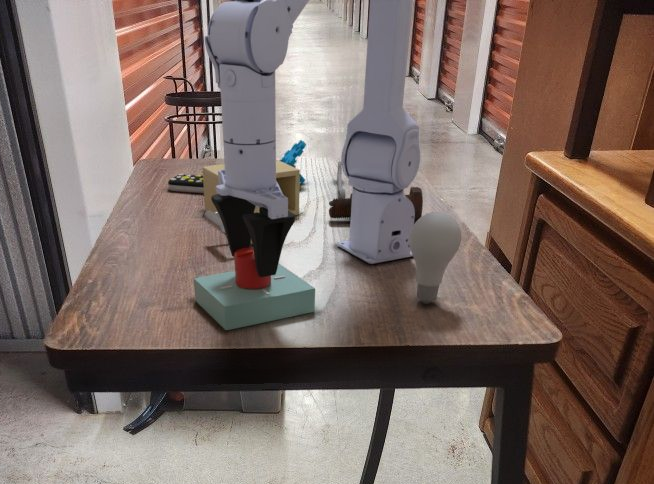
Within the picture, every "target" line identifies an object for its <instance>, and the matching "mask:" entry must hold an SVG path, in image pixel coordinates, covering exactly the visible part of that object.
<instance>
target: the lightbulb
mask: <svg viewBox="0 0 654 484" xmlns="http://www.w3.org/2000/svg"><path fill="white" fill-rule="evenodd" d="M461 242H462V230H461V226H460V224H459V222H458V221H457V219H456V218H454V217H453V216H452V215H451V214H450V213H447V212H445V211H439V210H437V211H435V210H434V211H430V212H427V213H425V214H423V215H422V216H421V218H419V219H418V220H417V221H416V223H415V224H414V225H413V227H412V230H411V233H410V236H409V245H410V249H411V252H412V255H413V256H412V258H413V260H414V263H415V267H416V269H415V270H416V277H415V278H416V282H417V287H416V288H417V289H416V298H417V299H418V300H419V301H421V302H422V303H423V304H430V303H431V302H434V301H436V300H437V298H438V293H439V288H440V285H441V284H442V282H443V278H444V274H445V271H446V269H447V267H448V266H449V263H450V262H451V261H452V260H453V259H454V257H455V256H456V254H457V253H458V251H459V249H460V246H461V244H462V243H461Z"/></svg>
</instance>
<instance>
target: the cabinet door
mask: <svg viewBox="0 0 654 484" xmlns="http://www.w3.org/2000/svg"><path fill="white" fill-rule="evenodd" d="M257 212H258V213H259V207H257V206H256V207H255V211H254V213H257ZM204 218H205V219H206V220H207V221H208V222H210V223H211V224H212V225H213V226H214V227H215V228H217V229H218V230H219V231H220V232H222V233H225V229H224V226H223V223H222V220H221V218H220V215H219V213H218V212H212V211H211V210H207V211H205V212H204ZM225 234H226V233H225ZM250 245H252V240H251V244H250Z"/></svg>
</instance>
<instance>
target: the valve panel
mask: <svg viewBox="0 0 654 484" xmlns="http://www.w3.org/2000/svg"><path fill="white" fill-rule="evenodd" d="M193 288H194V290H193V291H194V300H195V302H196V303H197V304H198V305H199V306H200V307H201V308H202V309H203V310H204V311H205V312H206V313H207V314H208V315H209V316H211V318H212V319H213V320H214V321H215V322H217V324H218V325H220V326H221V327H222V328H223V330H225V331H231V330H236V329H240V328H244V327H248V326H254V325H258V324H263V323H269V322H272V321H277V320H278V321H279V320H282V319H287V318H291V317H296V316H302V315H306V314H311V313H315V309H316V287H314V286H312V285H311V284H310V283H308V282H307V281H306V280H304V279H302V278H301V277H299V276H298V275H296V274H295V273H294V272H292V271H291V270H289V269H288V268H287V267H285V266H283V265H282V264H280V262H279V263H278V268H277V272H276V275H271V284H270V285H269V286H267V287H264V288H260V289H245V288H241V287H239V286H237V285H236V282H235V270H231V271H226V272H220V273H214V274H209V275H203V276H198V277H194V278H193Z"/></svg>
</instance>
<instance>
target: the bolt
mask: <svg viewBox="0 0 654 484" xmlns="http://www.w3.org/2000/svg"><path fill="white" fill-rule="evenodd" d="M349 196H350V197H345V198H342V199H341V198H340V199H339V198H338V197H337V198H335V197H334V198H333V199H332V200H331V201H329V202H328V205H329V206H330V208H329V209H328V216H329V218H331V219H334V220H336V219H339V220H340V219H341V220H342V219H349V222H350V221H351V205H352V192H351V193H350V195H349ZM405 196H406V197H407V198H408V199H409V200H410V201H411V202H412V204H413V206H414V210H415V218H414V224H415V223H416V221H417V220H418V219H419V218H421V217H422V216H423V215H422V214H423V207H424V204H423V203H424V197H423V189H422V188H420V187H418V186H410V188H409V194H405Z"/></svg>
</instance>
